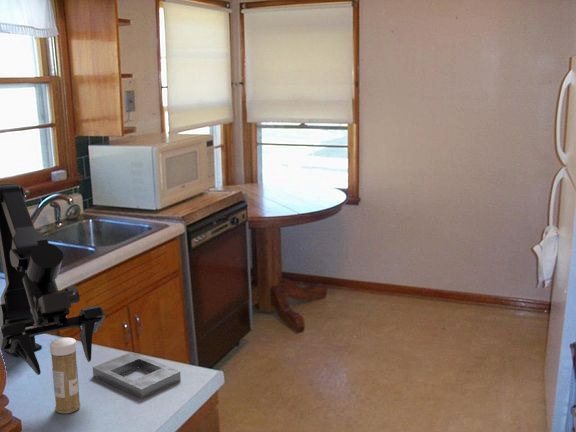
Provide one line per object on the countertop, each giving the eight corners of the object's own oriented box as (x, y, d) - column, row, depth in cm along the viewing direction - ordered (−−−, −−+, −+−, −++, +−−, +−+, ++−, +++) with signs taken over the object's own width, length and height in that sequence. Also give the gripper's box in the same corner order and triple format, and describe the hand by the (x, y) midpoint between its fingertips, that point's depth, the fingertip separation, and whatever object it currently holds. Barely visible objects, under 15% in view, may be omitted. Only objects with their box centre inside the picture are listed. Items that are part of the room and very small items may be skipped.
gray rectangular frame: (93, 376, 127) (92, 367, 127) (131, 360, 135) (131, 351, 135) (141, 398, 118) (141, 389, 117) (180, 380, 126) (180, 371, 125)
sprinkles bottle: (83, 410, 114) (78, 342, 111) (58, 417, 111) (52, 348, 108) (77, 400, 117) (72, 334, 115) (52, 406, 115) (47, 339, 112)
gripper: (-5, 282, 108) (16, 361, 101) (98, 266, 119) (123, 335, 112) (-10, 313, 116) (9, 388, 109) (87, 294, 127) (110, 361, 120)
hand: (65, 367), depth 112 cm, fingers open, 9 cm apart
